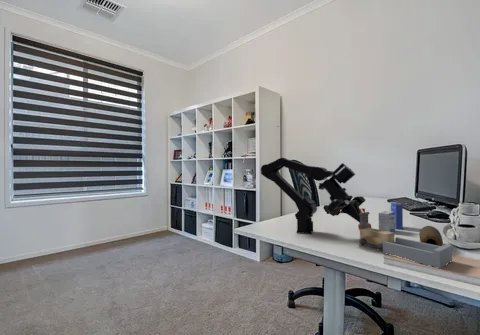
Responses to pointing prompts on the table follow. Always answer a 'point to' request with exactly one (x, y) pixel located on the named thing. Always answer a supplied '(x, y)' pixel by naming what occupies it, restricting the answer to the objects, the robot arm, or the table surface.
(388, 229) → the medicine box
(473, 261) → the table surface
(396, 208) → the walkman
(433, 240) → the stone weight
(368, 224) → the toy fire truck
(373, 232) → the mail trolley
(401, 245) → the tray
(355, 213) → the robot arm
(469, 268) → the table surface
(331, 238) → the table surface
